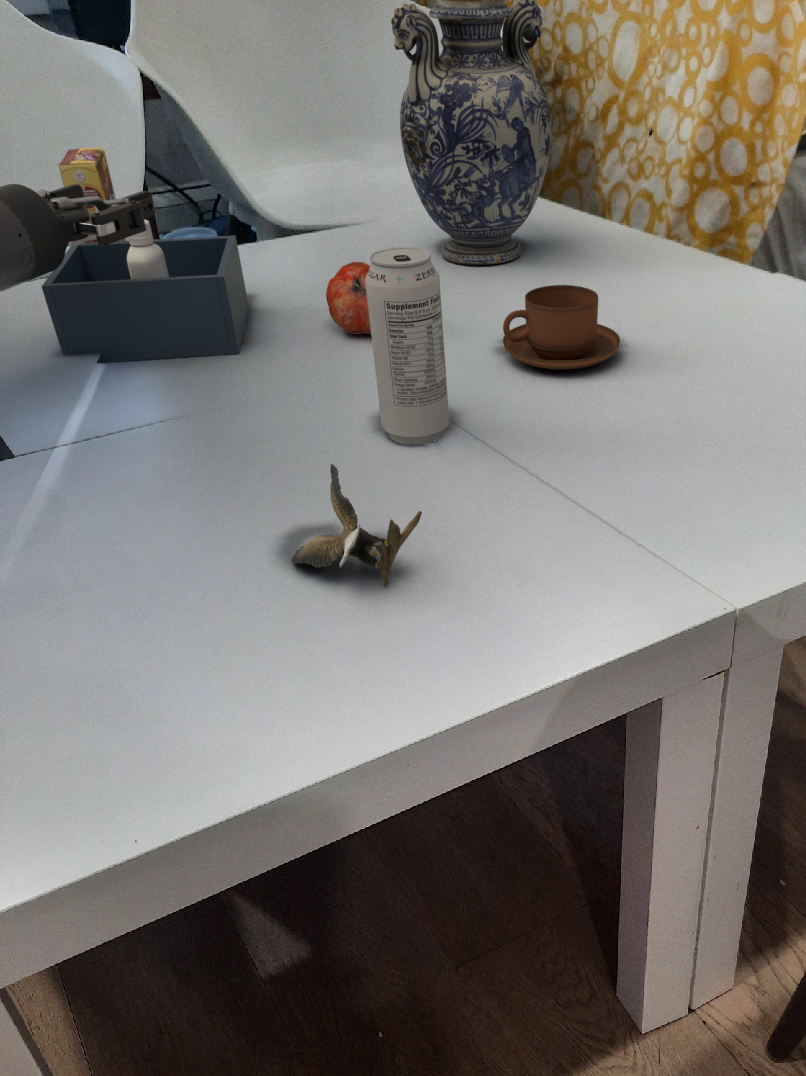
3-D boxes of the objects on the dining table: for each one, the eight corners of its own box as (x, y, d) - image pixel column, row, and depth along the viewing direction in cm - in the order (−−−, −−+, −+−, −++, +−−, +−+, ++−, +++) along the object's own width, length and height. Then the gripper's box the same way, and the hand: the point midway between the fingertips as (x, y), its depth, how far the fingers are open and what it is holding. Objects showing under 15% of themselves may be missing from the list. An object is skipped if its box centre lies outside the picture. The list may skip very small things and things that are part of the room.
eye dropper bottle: (195, 322, 111) (168, 203, 104) (158, 338, 108) (128, 216, 100) (165, 316, 113) (137, 199, 105) (128, 332, 109) (96, 211, 101)
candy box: (134, 308, 118) (95, 162, 108) (95, 311, 117) (53, 164, 107) (139, 285, 124) (104, 145, 115) (103, 288, 124) (64, 148, 114)
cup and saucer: (554, 389, 98) (554, 325, 94) (480, 355, 105) (477, 294, 101) (643, 360, 104) (646, 298, 100) (567, 329, 111) (568, 270, 107)
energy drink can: (439, 415, 93) (425, 242, 84) (458, 441, 89) (447, 261, 79) (375, 425, 92) (354, 250, 82) (392, 452, 87) (372, 270, 78)
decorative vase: (501, 226, 144) (494, -15, 126) (587, 254, 133) (592, -6, 115) (375, 255, 134) (347, -4, 116) (457, 287, 123) (440, 7, 105)
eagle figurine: (440, 538, 73) (348, 486, 76) (409, 490, 67) (309, 434, 70) (379, 623, 72) (288, 566, 75) (342, 582, 66) (243, 522, 69)
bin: (65, 365, 104) (41, 286, 99) (93, 316, 116) (72, 243, 111) (239, 354, 106) (223, 276, 101) (249, 306, 118) (235, 235, 113)
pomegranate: (335, 343, 115) (307, 311, 105) (346, 278, 114) (320, 240, 104) (398, 354, 114) (376, 323, 104) (410, 289, 114) (389, 252, 104)
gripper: (46, 200, 85) (165, 161, 96) (-84, 188, 89) (46, 152, 100) (73, 293, 89) (183, 245, 101) (-51, 277, 93) (69, 233, 105)
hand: (115, 199), depth 101 cm, fingers open, 8 cm apart
